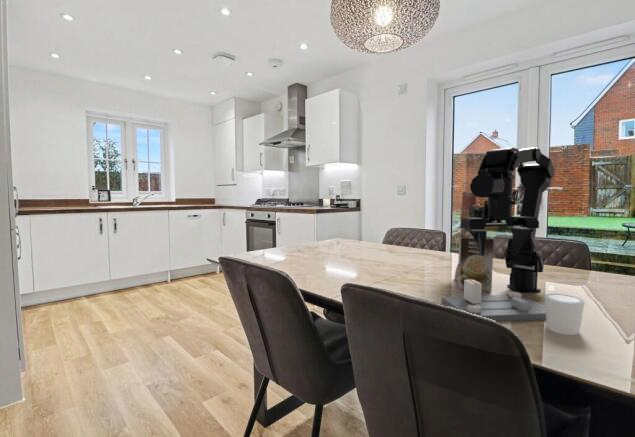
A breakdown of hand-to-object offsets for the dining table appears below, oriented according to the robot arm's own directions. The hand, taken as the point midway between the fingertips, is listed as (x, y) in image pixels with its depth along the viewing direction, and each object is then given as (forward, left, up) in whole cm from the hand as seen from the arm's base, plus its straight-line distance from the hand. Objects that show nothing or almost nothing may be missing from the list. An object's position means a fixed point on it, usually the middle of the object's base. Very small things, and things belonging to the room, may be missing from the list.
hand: (498, 254), depth 89 cm
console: (+4, +6, -13) cm, 15 cm away
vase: (-4, -23, -13) cm, 27 cm away
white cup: (-3, +19, -13) cm, 23 cm away
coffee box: (-1, -13, -13) cm, 18 cm away
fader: (+9, +4, -11) cm, 15 cm away
